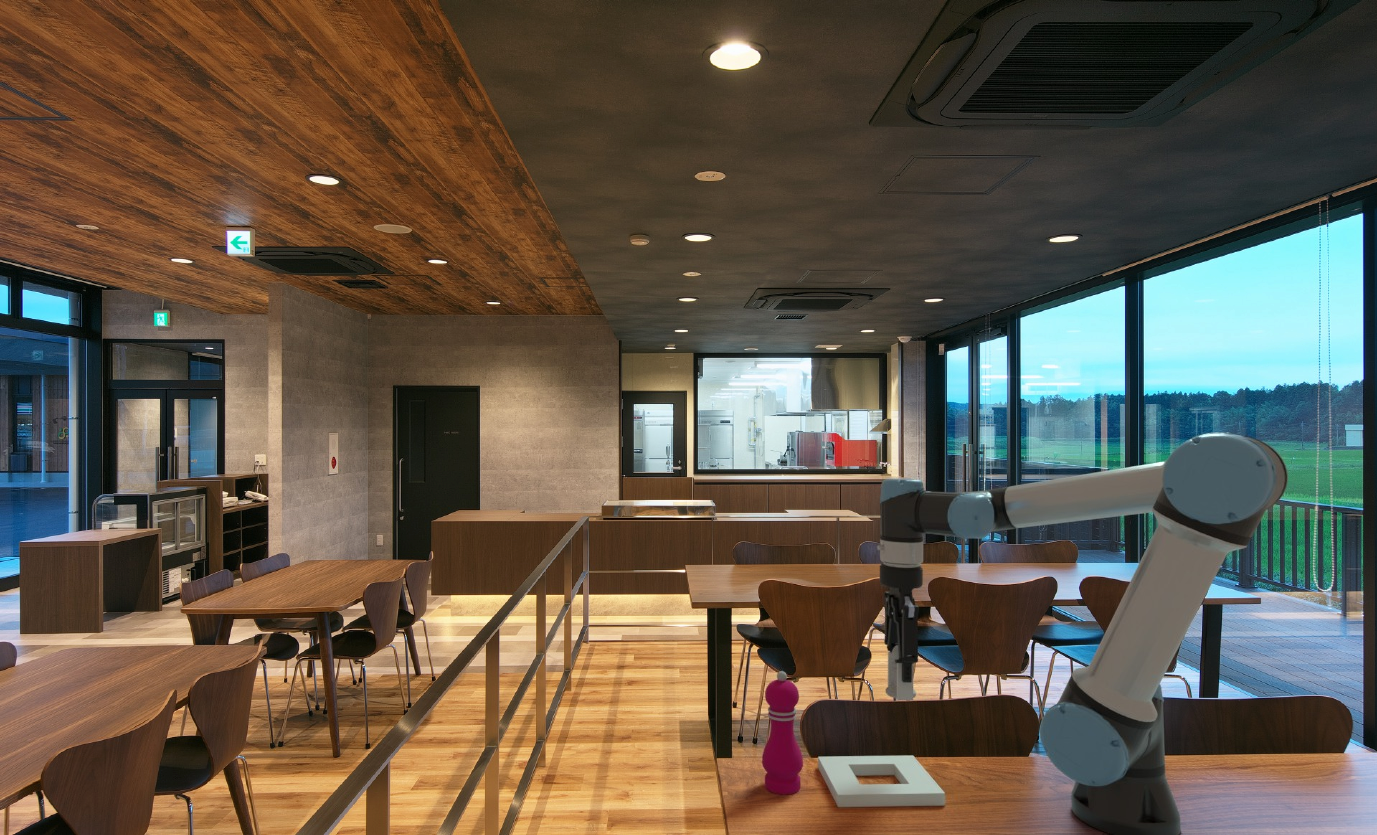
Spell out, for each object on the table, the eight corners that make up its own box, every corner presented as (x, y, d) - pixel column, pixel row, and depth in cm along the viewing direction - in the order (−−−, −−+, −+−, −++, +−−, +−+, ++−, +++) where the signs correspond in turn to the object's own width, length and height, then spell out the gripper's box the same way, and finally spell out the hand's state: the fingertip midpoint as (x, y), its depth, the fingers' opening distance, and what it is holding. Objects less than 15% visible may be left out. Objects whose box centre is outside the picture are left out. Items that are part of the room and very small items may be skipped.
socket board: (913, 766, 140) (912, 755, 140) (945, 805, 124) (945, 793, 124) (818, 767, 139) (818, 756, 139) (838, 807, 123) (838, 794, 123)
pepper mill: (802, 779, 134) (801, 666, 135) (804, 797, 127) (803, 677, 128) (762, 777, 135) (761, 665, 136) (762, 795, 128) (761, 676, 129)
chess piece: (922, 697, 133) (922, 646, 133) (902, 702, 130) (902, 650, 130) (899, 688, 137) (899, 639, 138) (879, 693, 134) (879, 643, 135)
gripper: (868, 556, 144) (867, 677, 143) (894, 571, 126) (893, 711, 125) (907, 556, 144) (906, 678, 143) (938, 572, 125) (937, 712, 125)
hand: (900, 693), depth 134 cm, fingers closed on chess piece, 5 cm apart
